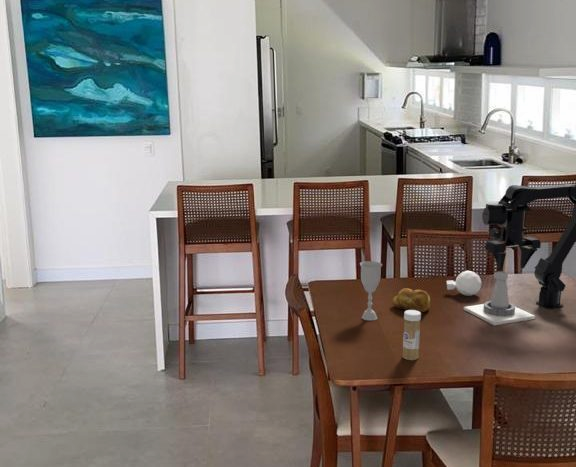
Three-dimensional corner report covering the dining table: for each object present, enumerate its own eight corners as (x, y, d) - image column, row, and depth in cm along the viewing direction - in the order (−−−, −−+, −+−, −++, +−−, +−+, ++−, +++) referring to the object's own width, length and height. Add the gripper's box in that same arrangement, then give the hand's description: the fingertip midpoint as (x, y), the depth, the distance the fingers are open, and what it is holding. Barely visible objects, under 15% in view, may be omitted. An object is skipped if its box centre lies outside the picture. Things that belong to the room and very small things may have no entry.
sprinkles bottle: (399, 358, 201) (401, 312, 198) (407, 353, 205) (409, 308, 202) (413, 362, 198) (415, 316, 195) (421, 357, 202) (424, 311, 199)
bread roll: (387, 309, 241) (388, 286, 239) (399, 301, 249) (400, 279, 247) (424, 316, 234) (425, 293, 233) (435, 308, 242) (436, 285, 241)
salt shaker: (509, 313, 233) (511, 274, 231) (491, 312, 234) (492, 273, 232) (507, 308, 239) (509, 270, 237) (489, 308, 240) (490, 269, 238)
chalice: (383, 316, 235) (385, 262, 230) (376, 322, 229) (378, 268, 224) (362, 312, 238) (363, 260, 233) (355, 319, 232) (356, 265, 227)
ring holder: (502, 303, 247) (503, 295, 246) (534, 318, 232) (535, 309, 232) (463, 309, 241) (464, 301, 240) (494, 325, 226) (495, 316, 226)
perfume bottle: (481, 286, 260) (447, 287, 263) (480, 264, 256) (445, 267, 258) (483, 300, 253) (448, 302, 256) (482, 278, 248) (446, 281, 251)
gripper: (521, 217, 248) (517, 260, 252) (476, 221, 241) (473, 266, 245) (543, 223, 238) (539, 269, 242) (497, 228, 231) (494, 275, 235)
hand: (511, 269), depth 241 cm, fingers open, 9 cm apart
